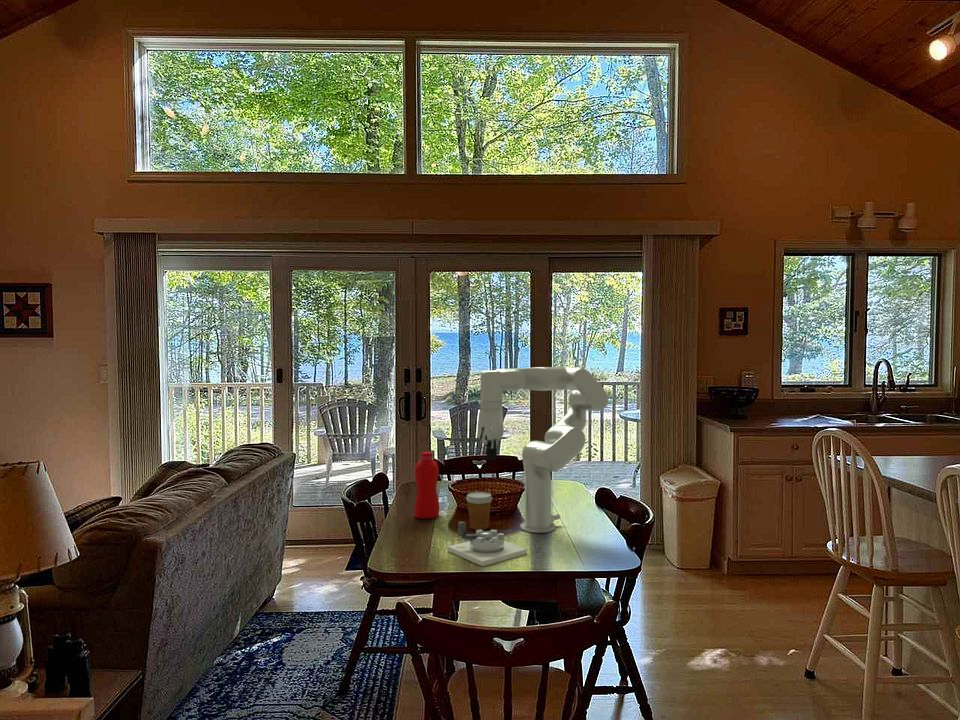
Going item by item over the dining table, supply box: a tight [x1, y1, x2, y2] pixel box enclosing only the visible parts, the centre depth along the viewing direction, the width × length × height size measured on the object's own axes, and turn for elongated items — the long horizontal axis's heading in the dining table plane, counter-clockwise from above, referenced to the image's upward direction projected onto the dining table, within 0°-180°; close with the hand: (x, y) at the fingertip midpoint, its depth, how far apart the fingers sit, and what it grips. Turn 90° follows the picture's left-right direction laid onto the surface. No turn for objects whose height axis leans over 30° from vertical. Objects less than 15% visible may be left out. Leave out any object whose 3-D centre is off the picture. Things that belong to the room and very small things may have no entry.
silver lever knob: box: [457, 520, 505, 553], centre depth 203 cm, size 15×11×8 cm
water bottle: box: [414, 451, 440, 520], centre depth 246 cm, size 9×11×25 cm
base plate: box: [447, 540, 528, 567], centre depth 204 cm, size 18×18×2 cm
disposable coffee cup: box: [465, 491, 493, 531], centre depth 231 cm, size 10×10×12 cm
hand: (491, 459), depth 218 cm, fingers closed
